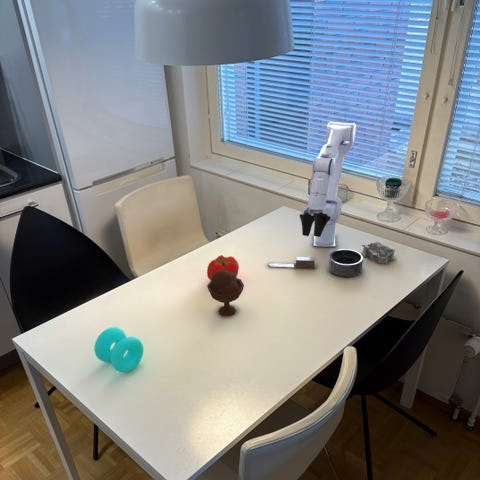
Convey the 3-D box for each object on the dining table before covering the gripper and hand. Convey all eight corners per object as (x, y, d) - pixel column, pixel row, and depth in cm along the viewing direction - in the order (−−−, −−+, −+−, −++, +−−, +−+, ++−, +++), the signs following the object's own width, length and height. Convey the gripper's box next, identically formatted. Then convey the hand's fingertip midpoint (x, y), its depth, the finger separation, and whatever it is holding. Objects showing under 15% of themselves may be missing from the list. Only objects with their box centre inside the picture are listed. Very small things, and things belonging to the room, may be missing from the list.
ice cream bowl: (244, 320, 149) (243, 278, 140) (208, 321, 150) (204, 279, 141) (245, 301, 158) (243, 260, 149) (210, 301, 158) (206, 261, 149)
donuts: (124, 347, 141) (118, 319, 135) (148, 361, 136) (142, 332, 130) (96, 365, 135) (88, 337, 129) (119, 381, 130) (112, 352, 124)
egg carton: (359, 254, 179) (360, 244, 177) (373, 248, 183) (374, 238, 180) (382, 265, 172) (383, 255, 170) (396, 258, 175) (398, 248, 173)
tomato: (240, 273, 172) (239, 251, 166) (237, 290, 163) (236, 268, 158) (210, 273, 173) (208, 251, 168) (205, 290, 164) (203, 267, 159)
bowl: (328, 260, 176) (329, 248, 173) (360, 262, 175) (361, 249, 172) (328, 277, 167) (329, 264, 164) (362, 278, 166) (363, 265, 163)
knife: (314, 265, 174) (314, 257, 172) (314, 268, 172) (314, 260, 170) (269, 263, 176) (269, 255, 174) (268, 267, 174) (268, 259, 172)
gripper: (297, 193, 168) (290, 233, 170) (319, 191, 155) (311, 234, 156) (315, 197, 171) (308, 236, 172) (338, 195, 157) (330, 238, 159)
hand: (311, 236), depth 165 cm, fingers open, 7 cm apart
